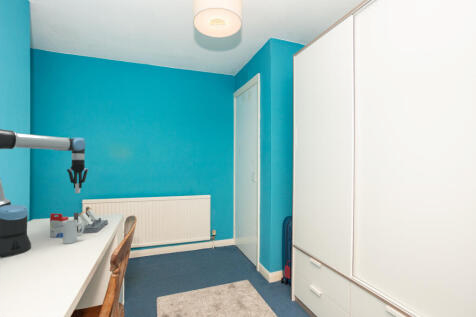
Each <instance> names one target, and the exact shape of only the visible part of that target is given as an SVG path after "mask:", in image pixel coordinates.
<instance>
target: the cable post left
mask: <svg viewBox="0 0 476 317" xmlns="http://www.w3.org/2000/svg"><path fill="white" fill-rule="evenodd" d="M78 214H79V212H74V213H73V220H77V223H79V215H78ZM78 231H79V225H78V226H77V232H78Z"/></svg>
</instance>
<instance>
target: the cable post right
mask: <svg viewBox="0 0 476 317" xmlns="http://www.w3.org/2000/svg"><path fill="white" fill-rule="evenodd" d="M89 208H91V207H90V206H86V207H85V213H86V215H87V216H88V217H89V218H90V216H89V215H88V214H87V212H86V210H88V209H89ZM90 220H91V221H93V220H92V219H91V218H90Z"/></svg>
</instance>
